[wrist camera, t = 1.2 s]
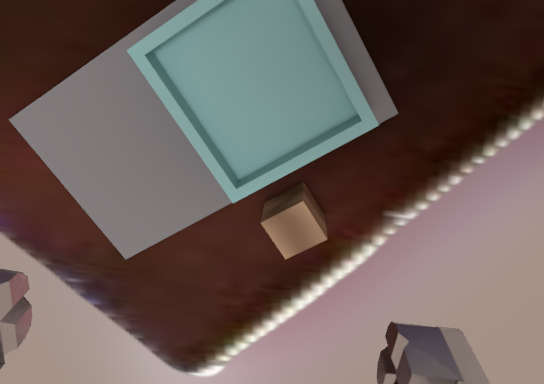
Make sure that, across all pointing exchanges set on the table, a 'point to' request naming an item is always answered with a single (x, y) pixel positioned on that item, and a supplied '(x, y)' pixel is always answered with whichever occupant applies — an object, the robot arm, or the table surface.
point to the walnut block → (294, 221)
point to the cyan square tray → (254, 87)
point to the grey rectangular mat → (148, 138)
